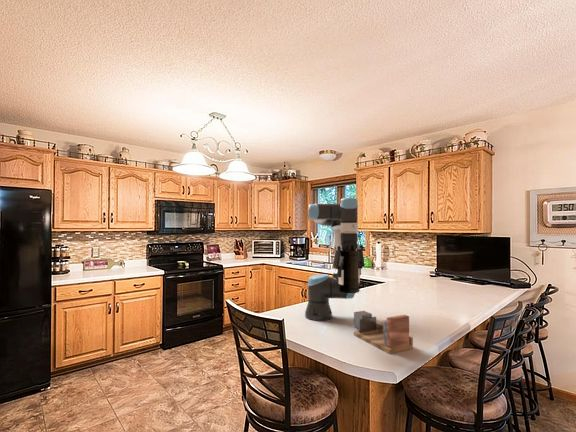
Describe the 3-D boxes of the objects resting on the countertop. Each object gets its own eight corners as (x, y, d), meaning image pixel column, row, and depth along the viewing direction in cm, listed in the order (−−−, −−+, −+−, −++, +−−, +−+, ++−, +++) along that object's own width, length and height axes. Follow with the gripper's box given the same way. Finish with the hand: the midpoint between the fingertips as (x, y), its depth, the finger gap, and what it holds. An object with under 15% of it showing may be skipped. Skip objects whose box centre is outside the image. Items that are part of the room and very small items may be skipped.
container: (356, 288, 142) (356, 249, 142) (362, 293, 133) (361, 251, 133) (337, 288, 142) (337, 249, 142) (341, 293, 133) (341, 251, 133)
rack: (353, 335, 145) (353, 306, 145) (375, 331, 151) (375, 303, 151) (389, 353, 124) (389, 320, 125) (412, 348, 130) (412, 316, 130)
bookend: (350, 328, 150) (350, 312, 150) (367, 325, 154) (366, 310, 154) (359, 332, 144) (359, 316, 144) (376, 329, 148) (376, 313, 148)
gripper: (334, 233, 130) (334, 287, 130) (373, 232, 139) (373, 283, 139) (324, 232, 137) (324, 284, 136) (362, 231, 146) (362, 280, 145)
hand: (349, 283), depth 138 cm, fingers closed on container, 8 cm apart
